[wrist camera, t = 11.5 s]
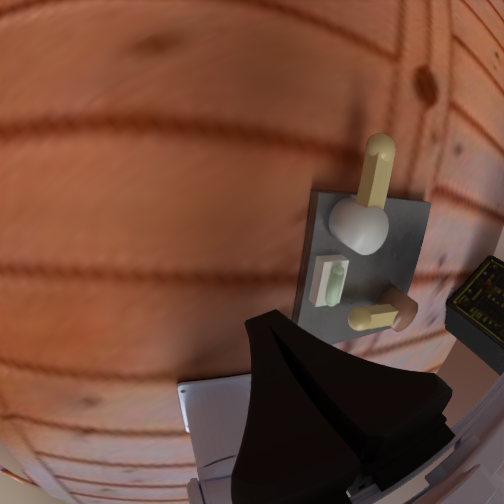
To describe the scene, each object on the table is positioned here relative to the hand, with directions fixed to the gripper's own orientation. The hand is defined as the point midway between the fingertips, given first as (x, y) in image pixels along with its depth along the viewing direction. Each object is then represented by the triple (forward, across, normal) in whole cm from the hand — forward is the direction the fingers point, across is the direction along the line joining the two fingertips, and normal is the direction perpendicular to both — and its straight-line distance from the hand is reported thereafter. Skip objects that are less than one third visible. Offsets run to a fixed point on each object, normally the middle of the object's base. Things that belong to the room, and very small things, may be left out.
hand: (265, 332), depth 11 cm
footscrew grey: (+9, -11, -1) cm, 14 cm away
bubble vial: (+9, -8, +5) cm, 13 cm away
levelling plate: (+10, -12, +7) cm, 18 cm away
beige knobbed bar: (+9, -13, +11) cm, 19 cm away
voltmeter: (+11, -37, +22) cm, 44 cm away
